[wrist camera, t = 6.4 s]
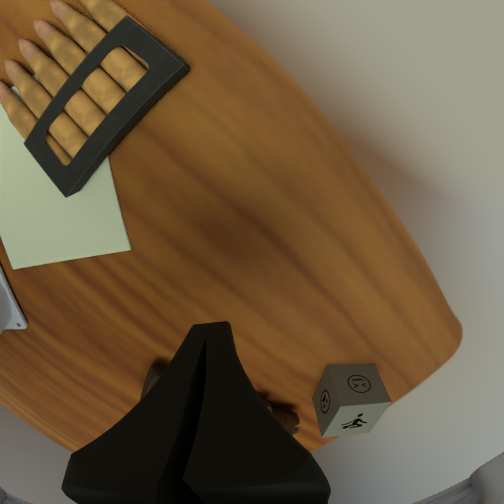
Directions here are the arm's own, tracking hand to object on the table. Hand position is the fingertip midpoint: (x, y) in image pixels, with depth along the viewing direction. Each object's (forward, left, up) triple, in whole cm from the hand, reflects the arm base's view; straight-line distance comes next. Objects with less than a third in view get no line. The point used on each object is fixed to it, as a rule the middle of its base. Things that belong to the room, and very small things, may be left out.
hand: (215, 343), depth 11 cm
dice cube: (+9, -17, -11) cm, 22 cm away
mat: (-12, +7, -10) cm, 18 cm away
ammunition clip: (-4, +8, -9) cm, 13 cm away
